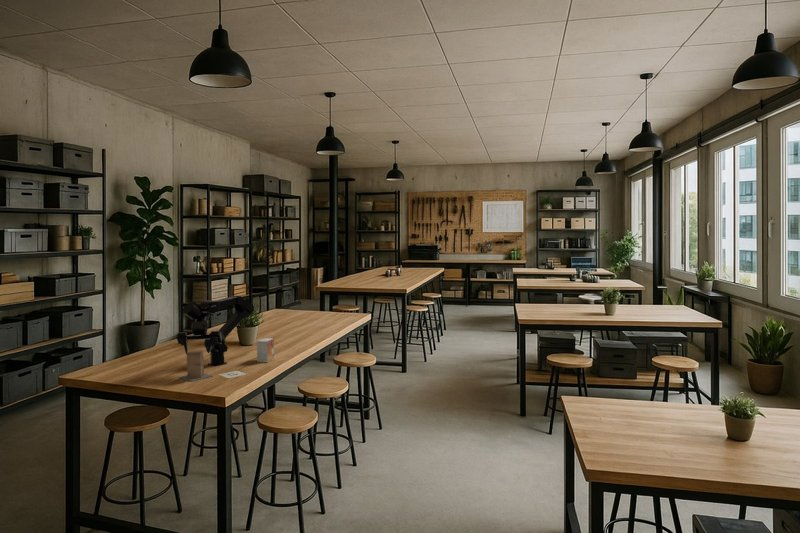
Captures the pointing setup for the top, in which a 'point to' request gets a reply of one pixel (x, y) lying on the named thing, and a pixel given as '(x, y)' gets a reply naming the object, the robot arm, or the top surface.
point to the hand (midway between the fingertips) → (197, 353)
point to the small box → (265, 350)
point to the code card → (232, 374)
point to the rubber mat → (195, 378)
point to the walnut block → (195, 364)
